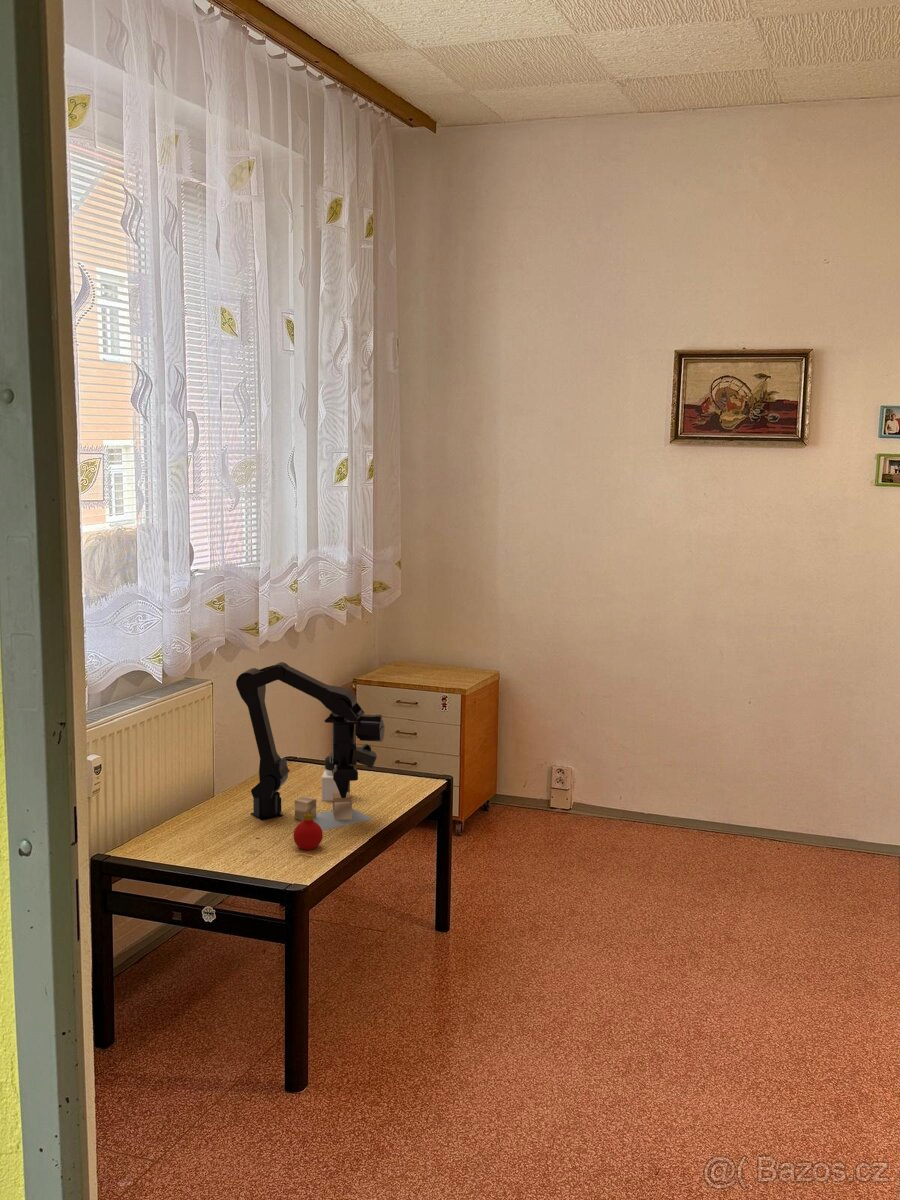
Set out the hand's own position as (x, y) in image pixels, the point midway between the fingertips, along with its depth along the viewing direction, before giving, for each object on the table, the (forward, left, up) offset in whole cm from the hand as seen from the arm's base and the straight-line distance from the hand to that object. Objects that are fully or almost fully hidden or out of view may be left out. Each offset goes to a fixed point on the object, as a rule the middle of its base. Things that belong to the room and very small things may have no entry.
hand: (343, 797), depth 296 cm
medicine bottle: (+9, +17, -7) cm, 21 cm away
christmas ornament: (-18, -12, -7) cm, 22 cm away
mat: (-1, +2, -6) cm, 7 cm away
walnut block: (0, 0, -4) cm, 4 cm away
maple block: (-7, +7, -6) cm, 12 cm away
